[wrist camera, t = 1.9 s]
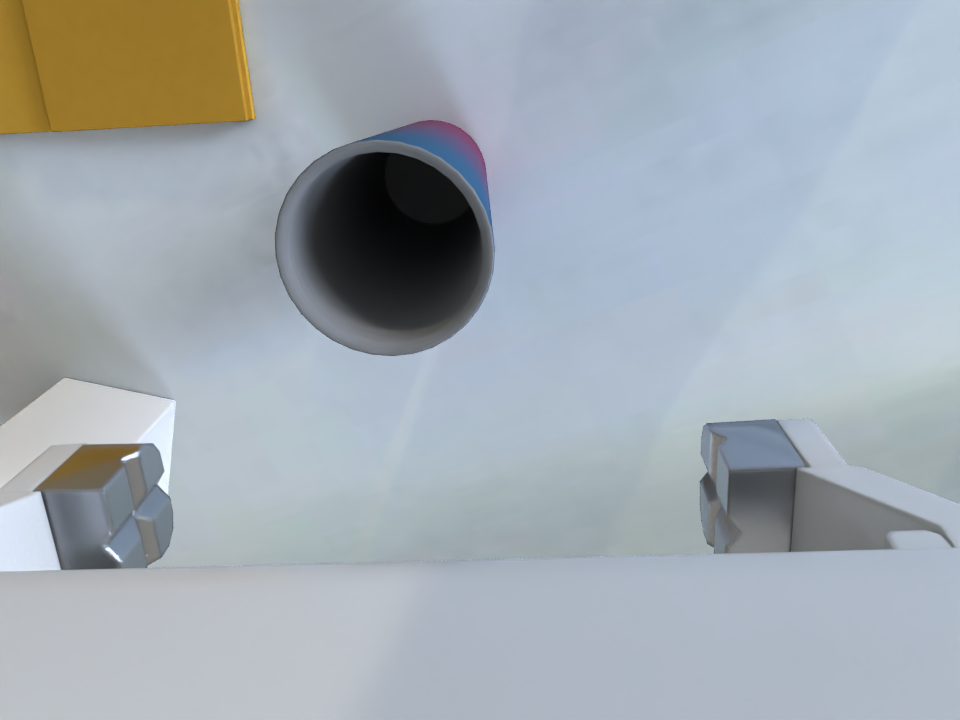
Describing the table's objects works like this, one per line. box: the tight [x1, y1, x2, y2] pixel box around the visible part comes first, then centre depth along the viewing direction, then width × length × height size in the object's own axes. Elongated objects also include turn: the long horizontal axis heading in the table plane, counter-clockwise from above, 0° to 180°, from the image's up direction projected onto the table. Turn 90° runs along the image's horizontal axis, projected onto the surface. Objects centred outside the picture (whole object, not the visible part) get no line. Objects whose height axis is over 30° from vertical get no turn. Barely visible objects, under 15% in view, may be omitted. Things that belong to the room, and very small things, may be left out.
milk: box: [0, 378, 176, 495], centre depth 36 cm, size 6×6×22 cm
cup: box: [275, 120, 495, 356], centre depth 34 cm, size 7×7×15 cm
